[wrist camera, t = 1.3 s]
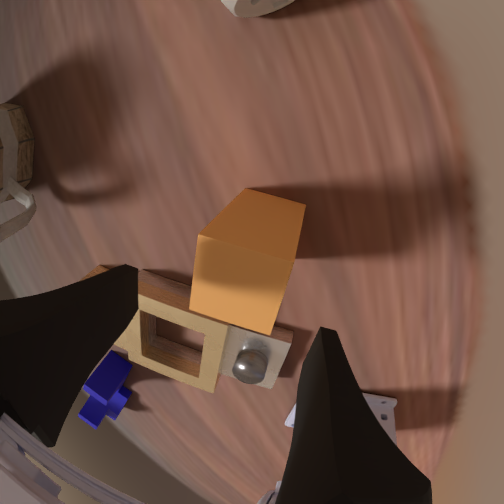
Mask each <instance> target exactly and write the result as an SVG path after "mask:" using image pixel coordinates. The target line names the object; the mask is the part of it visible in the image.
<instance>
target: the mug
mask: <svg viewBox="0 0 504 504" xmlns="http://www.w3.org/2000/svg"><path fill="white" fill-rule="evenodd" d="M34 140H35V138H34V136H33V133H32V130H31V128H30V125H29V122H28V120H27V117H26V114H25V111H24V108H23V106H20V105H14V104H8V103H3V104H0V203H2V202H4V201H8V200H11V199H16V200H17V201H19V202H20V203H22V204H23V205H25V206H26V208H27V209H26V211H25V212H23V213H22V214H20V215H18V216H16V217H14V218H13V219H11V220H9V221H7V222H5V223H3V224H2V225H0V242H2V241H3V240H5V239H6V238H8V237H9V236H11V235H13V234H15V233H16V232H18V231H19V230H21V229H22V228H24V227H25V226H27V225H28V223H29V221H30V220H31V218H32V217H33V215H34V214H35V212H36V203H35V200H34V196H33V195H32V194H31V193H30V192H28V191H27V190H26V189H25V187H26V186H27V185H28V184H29V182H30V181H31V180H32V171H33V153H34Z"/></svg>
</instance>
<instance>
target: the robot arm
mask: <svg viewBox="0 0 504 504" xmlns="http://www.w3.org/2000/svg"><path fill="white" fill-rule="evenodd" d="M138 309H139V306H138V269H137V268H135V267H132V266H129V265H126V264H124V265H121V266H118V267H115V268H113V269H110V270H107V271H105V272H102V273H100V274H97V275H95V276H92V277H90V278H87V279H84V280H82V281H79V282H76V283H73V284H71V285H68V286H65V287H62V288H59V289H56V290H53V291H49V292H45V293H42V294H38V295H33V296H28V297H22V298H17V299H10V300H1V301H0V504H65V503H63V502H62V501H60V500H59V499H58V498H57V496H58V494H59V493H60V491H61V487H60V486H59V485H58V484H56V483H55V482H54V481H52V480H51V479H50V478H49V477H48V476H47V475H45V474H44V473H43V472H42V471H41V470H40V469H39V468H38V467H37V466H36V465H35V464H33V463H32V462H31V461H30V460H29V459H27V458H26V457H25V453H24V451H25V452H26V453H27V454H28V455H30V456H31V457H32V458H33V459H35V460H36V461H37V462H38V463H40V464H41V465H43V466H44V467H45V468H47V469H48V470H49V471H51V472H52V473H54V474H55V475H57V476H58V477H59V478H61V479H62V480H64V481H65V482H67V483H68V484H70V485H71V486H73V487H74V488H76V489H78V490H79V491H81V492H83V493H84V494H86V495H88V496H89V497H91V498H93V499H94V500H96V501H98V502H100V503H102V504H146V503H143V502H141V501H139V500H137V499H135V498H132V497H130V496H128V495H126V494H124V493H122V492H120V491H118V490H116V489H114V488H112V487H110V486H109V485H107V484H105V483H103V482H101V481H99V480H98V479H96V478H94V477H92V476H91V475H89V474H87V473H86V472H84V471H82V470H81V469H79V468H77V467H76V466H74V465H73V464H71V463H69V462H68V461H67V460H65V459H63V458H62V457H60V456H59V455H58V454H56V453H55V452H53V451H52V450H51V449H49V448H48V447H53V446H55V444H56V441H57V438H58V436H59V433H60V431H61V428H62V426H63V424H64V421H65V419H66V417H67V415H68V413H69V411H70V409H71V407H72V404H73V403H74V401H75V399H76V397H77V395H78V393H79V392H80V390H81V388H82V386H83V385H84V383H85V381H86V380H87V378H88V376H89V375H90V373H91V372H92V370H93V369H94V368H95V366H96V365H97V363H98V362H99V361H100V360H101V359H102V357H103V356H104V355H105V354H106V352H107V351H108V350H109V349H110V348H111V346H112V345H113V344H114V343H115V342H116V340H117V339H118V338H119V337H120V336H121V334H122V333H123V332H124V331H125V329H126V328H127V327H128V325H129V324H130V322H131V320H132V319H133V317H134V316H135V314H136V312H137V311H138ZM396 404H397V399H395V398H389V397H383V396H378V395H372V394H367V393H362V392H361V390H360V388H359V386H358V383H357V381H356V379H355V377H354V374H353V372H352V370H351V367H350V365H349V363H348V360H347V358H346V355H345V352H344V350H343V347H342V344H341V342H340V339H339V336H338V334H337V332H336V331H335V330H331V329H328V328H324V327H320V328H319V331H318V333H317V335H316V337H315V339H314V341H313V343H312V346H311V348H310V350H309V352H308V354H307V356H306V358H305V360H304V362H303V365H302V370H301V374H300V379H299V384H298V391H297V400H296V404H295V406H294V407H293V409H292V411H291V412H290V414H289V416H288V417H287V419H286V421H285V425H286V426H289V427H293V428H294V429H293V437H292V443H291V448H290V452H289V456H288V460H287V464H286V468H285V472H284V475H283V479H282V481H277V485H276V489H275V490H271V491H268V492H267V493H266V494H265V495H264V496H263V497H262V498H261V499H260V500H259V501H258V503H257V504H432V489H431V481H430V480H429V479H428V478H427V477H426V476H425V475H424V474H423V473H422V472H421V471H419V470H418V469H417V468H416V467H415V466H414V465H413V464H412V463H411V462H410V461H409V460H408V459H407V457H406V456H405V455H404V454H403V453H402V452H401V451H400V450H399V448H398V447H397V442H396V429H395V418H394V407H395V406H396Z"/></svg>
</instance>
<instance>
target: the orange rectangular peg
mask: <svg viewBox="0 0 504 504" xmlns="http://www.w3.org/2000/svg"><path fill="white" fill-rule="evenodd" d="M305 207H306V205H305V204H302V203H298V202H295V201H291V200H288V199H284V198H280V197H277V196H273V195H269V194H266V193H262V192H258V191H255V190H251V189H247V188H245V189H244V190H243V191H242V192H241V193H240V194H239V195H238V196H237V197H236V198H235V199H234V200H233V201H232V202H231V203H230V204H229V205H227V206H226V207H225V208H224V209H223V210H222V211H221V212H220V213H219V214H218V215H217V216H216V217H215V218H214V219H213V220H212V221H211V222H210V223H209V224H208V225H207V226H206V227H205V228H204V229H203V230H202V231H201V232H200V233H199V234H198V241H197V248H196V256H195V263H194V271H193V280H192V288H191V297H190V306H189V310H192V311H195V312H198V313H201V314H204V315H207V316H210V317H213V318H216V319H219V320H222V321H225V322H228V323H231V324H234V325H237V326H241V327H244V328H247V329H250V330H253V331H257V332H260V333H263V334H267V335H270V334H271V331H272V328H273V325H274V322H275V319H276V316H277V313H278V310H279V307H280V304H281V301H282V298H283V295H284V292H285V289H286V286H287V283H288V280H289V277H290V274H291V270H292V267H293V264H294V260H295V256H296V251H297V246H298V242H299V237H300V232H301V227H302V222H303V217H304V212H305Z"/></svg>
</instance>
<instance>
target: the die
mask: <svg viewBox="0 0 504 504" xmlns="http://www.w3.org/2000/svg"><path fill="white" fill-rule="evenodd" d="M221 1H222V2H223V4H224V5H225V6H226V7H227V8H228V9H229V10H230V12H231V13H232V14H233V15H234V16H237V17H244V18H251V17H257V16H261V15H265V14H268V13H271V12H274V11H276V10H278V9H280V8H283V7H285V6H286V5H288V4H290V3H292V2H293V1H295V0H221Z"/></svg>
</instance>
